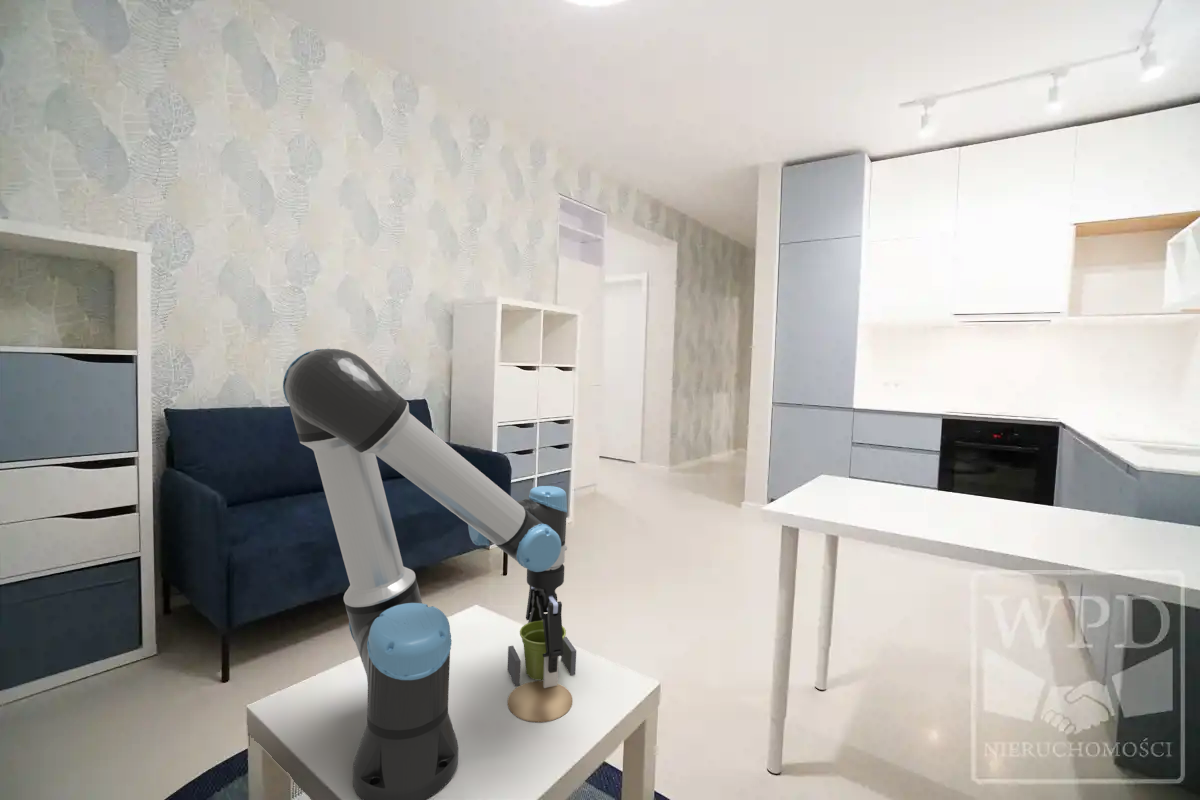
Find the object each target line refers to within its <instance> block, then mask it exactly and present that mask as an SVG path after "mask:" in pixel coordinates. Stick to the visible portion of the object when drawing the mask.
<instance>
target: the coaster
mask: <svg viewBox="0 0 1200 800" xmlns="http://www.w3.org/2000/svg"><path fill="white" fill-rule="evenodd" d="M507 706H508V707H507V708H508V709H509V711H510V713H511V714H513V716H515V717H516V718H518V719H520V720H523V721H526V722H529V723H548V722H553V721H555V720H558V719H560V718H562V717H564V716H565V715H566V714H567V713H568V712H569V711H570V710H571V708H572V706H573V695H572V694H571V692H570V690H569V689H568V688H566V687H565V686H563V685H562V684H560V683H558V685H557V686H553V687H548V688H544V687H543V680H534V681H530V682H525V683H523V684H520V686H516V687H515V688H514V689H513V690H512V691H511V692H510V694H509V695H508V697H507Z"/></svg>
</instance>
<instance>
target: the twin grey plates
mask: <svg viewBox="0 0 1200 800" xmlns="http://www.w3.org/2000/svg"><path fill="white" fill-rule="evenodd" d="M507 650H508V651H507V668H506V669H507V672H508V674H509V676H510V679H511V681H512V684H513V685H514V687H518V686H520V685H521V669H522V668H521V666H522V665H521V664H522V660H521V658H520V656H519V654H518V653H517V650H516V649H515V647H514V645H508V646H507ZM563 652H564V653H563V656H560V661H561V662H562V663H563V664H562V665H563V666H564V667H565V669H566V670H567V671H568V673H569V674H570V676H573V675H576V666H577V649H576V648H575V647H574V645H573V644H572V642H571V641H570V639H568V637H567V636H565V637H564V639H563Z"/></svg>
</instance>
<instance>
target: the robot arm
mask: <svg viewBox="0 0 1200 800" xmlns="http://www.w3.org/2000/svg"><path fill="white" fill-rule="evenodd" d="M282 390H283V395H284V398H285V400H286V402H287V403H288V406H289V408H290V412H291V415H292V418H293V422H294V427H295V430H296V434H297V437H298V440H299V443H300V444H301V445H304V446H305V447H307V448H309V449H311V450H312V451H313V453H314V457H315V461H316V463H317V467H318V473H319V475H320V479H321V482H322V487H323V491H324V494H325V497H326V501H327V505H328V508H329V512H330V516H331V520H332V523H333V526H334V527H333V528H334V530H335V534H336V538H337V542H338V545H339V549H340V552H341V556H342V560H343V563H344V567H345V571H346V575H347V578H348V581H349V586H348V588H347V590H346V591H345V592H344V595H343V602H344V606H345V610H346V613H347V617H348V621H349V622H348V628H349V632H350V634H351V638H352V640H353V641H354V643H355V645H356V648H357V652H358V654H359V657H360V660H361V662H362V665H363V668H364V671H365V674H366V680H367V703H366V704H367V705H366V707H367V708H366V709H367V710H366V711H367V712H366V713H367V715H366V716H367V717H366V718H367V719H366V727H365V729H364V732H363V735H362V738H361V740H360V743H359V747H358V748H357V749H358V750H357V751H356V755H355V757H354V761H353V765H352V767H353V768H352V784H353V789H354V791H355V793H356V795H357V796H359V798H361V800H426V799H428V798H430V797H431V796H433V795H435V794H437V793H438V792H439V791H440V790H442V789H443V788H444V787H445V786H447V784H448V783H449V782H450V781H451V780H452V778H453V777H454V774H455V772H456V771H457V769H458V764H459V744H458V743H459V742H458V738H457V736H456V732H455V729H454V727H453V724H452V721H451V717H450V714H449V690H450V668H451V667H450V666H451V665H450V664H451V649H452V642H453V641H452V633H451V626H450V621H449V619H448V616H447V615H446V614H445V613H444V612H443V611H442V610H440V609H439V608H437V607H435V606H428V604H427V603H424V602H423V601H422V596H421V592H420V588H419V584H418V581H417V580H418V579H417V576H416V573H415V571H414V570H413V569H410V568H408V567H406V566H404V563H403V559H402V556H401V555H402V554H401V552H400V551H401V550H400V547H399V543H398V540H397V539H398V538H397V536H396V531H395V527H394V523H393V520H392V515H391V511H390V507H389V503H388V500H387V496H386V491H385V488H384V484H383V483H384V482H383V480H382V475H381V471H380V468H379V464H378V463H379V462H378V459H377V457H378V458H379V459H380V460H381V461H383V462H384V463H386V464H387V465H388V466H390V467H391V468H392V469H394V470H395V471H397V472H398V473H399V474H401V475H402V476H403V477H405V479H407V480H408V481H410V482H411V483H412V484H413V485H415V486H417V487H418V488H419V489H421V490H422V491H423V492H424V493H425V494H427V495H429V497H431V498H432V499H434V500H435V501H437V502H438V503H439V504H441V505H442V506H443V507H445V509H447V510H449V512H451V513H453V514H454V515H456V516H457V517H458V518H459V519H460V520H462V521H463V522H465V524H467V525H468V526H467V528H468V535H469V538H470V540H471V541H472V544H474V545H475V546H488V547H489V546H490V545H496V547H497V548H499V549H501V550H502V551H503V552H504V553H506V555H508V556H509V557H511V558H512V559H514V560H515V561H516V562H517V563H518V564H519V565H520V566H521V567H523V568H525V569H526V583H527V584H528V585H529V590H528V598H527V599H528V600H527V607H526V612H525V613H526V614H525V619H526V621H527V623H530V622H533V621H540V620H543V628H544V637H545V646H546V653H544V654H543V657H544V674H543V680H542V681H543V687H544V688H548V687H553V686H557V685H558V684H559V683H558V681H559V680H558V679H559V657H561V656H563V653H564V652H563V636H562V626H563V622H562V620H563V619H562V607H563V602H561V600H560V601H558V595H557V593H556V590H557V588H560V587H561V586H562V585H564V582H565V565H564V563H565V560H566V559H565V557H566V556H565V553H566V552H565V551H567V550H568V547H567V545H566V536H567V535H566V533H567V513H568V504H567V503H568V499H567V492H566V491H565V490H564V489H563V488H561V487H559V486H553V485H539V486H536V487H532V488H531V489H530V490H529V495H528V498H527V499H523V500H522V499H521V500H515V499H514V498H513V497H512V496H511V495H509V494H508V493H507V492H506V491H505V490H504V489H502V488H501V487H500V486H498V484H496V483H495V482H494V481H492V480H491V479H490V478H489V477H488V476H486V474H484V473H483V472H481V470H479V469H478V468H477V467H476V466H474V465H473V464H472V463H471V462H470V461H468V460H467V459H466V458H465V457H463V456H462V455H461V454H460V453H459V452H457V450H455V449H454V448H452V446H450V445H449V444H447V443H446V442H445V441H444V440H443V439H442V438H440V437H439V436H438V434H435V433H434V432H433V431H432V430H431V429H430V428H428V427H427V426H426V425H424V423H423V422H421V421H420V420H419V419H417V418H416V417H415V416H414V415H413V414H412V413H410V405H409V402H408V401H407V400H406V399H405V398H403V397H402V396H401V395H400V394H399V393H397V392H396V391H395V389H393V388H392V387H391V386H390V385H389V384H388V383H387V382H386V381H385V380H384V379H383V377H381V376H380V375H379V374H378V372H376V371H375V369H374V368H373V367H371V365H370V364H368V362H366V360H365V359H363V358H362V357H360V356H359V355H357V354H355V353H352V352H350V351H348V350H344V349H339V348H320V349H319V348H317V349H315V350H311V351H307V352H305V353H303V354H301V355H299V356H298V357H297V358H295V359H294V361H292V362H291V364H289V366H288V368H287V369H286V370H285V374H284V376H283V381H282Z"/></svg>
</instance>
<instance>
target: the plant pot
mask: <svg viewBox="0 0 1200 800" xmlns="http://www.w3.org/2000/svg"><path fill="white" fill-rule="evenodd" d="M566 631H567V630H566V628H565V627H564V626H563V625H562V636H563V639H564V637H566V635H567V632H566ZM519 635H520V638H521V640H522V644H523V652H524V654H523V655H524V664H525V673H526V675H528V676H529V678H530V679H533V680H534V681H543V674H544V657H543V654H544V653H546V646H545V637H544V628H543V620H540V621H533V622H530V623H528V622H527V623H526V624H524V625H523V626H522V627H520V629H519Z"/></svg>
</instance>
